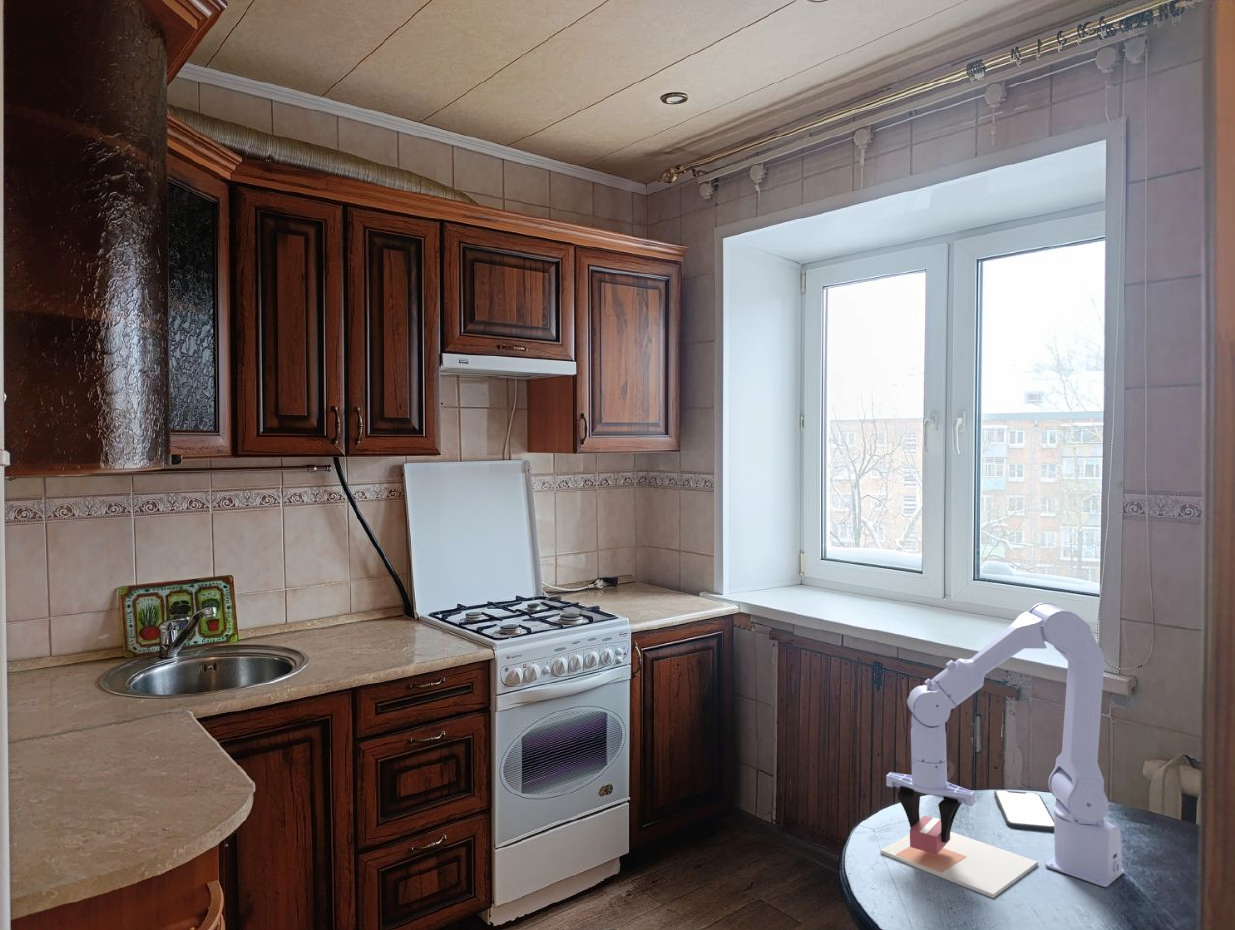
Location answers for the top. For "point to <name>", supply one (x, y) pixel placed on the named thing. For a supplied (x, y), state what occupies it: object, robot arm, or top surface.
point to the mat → (966, 863)
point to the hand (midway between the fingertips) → (930, 836)
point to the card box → (927, 835)
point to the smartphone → (1024, 811)
